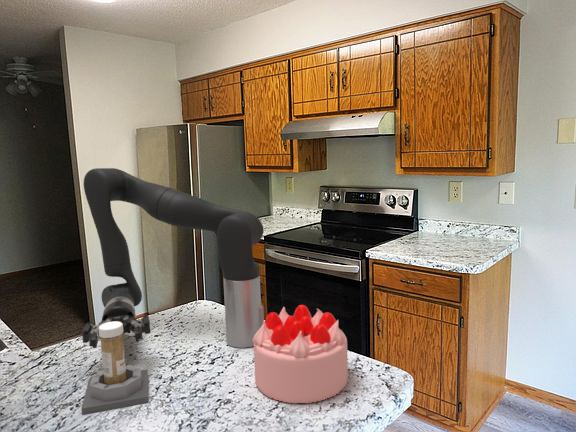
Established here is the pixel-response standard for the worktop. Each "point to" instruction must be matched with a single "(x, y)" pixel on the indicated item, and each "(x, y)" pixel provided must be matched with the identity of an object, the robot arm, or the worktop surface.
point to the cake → (300, 356)
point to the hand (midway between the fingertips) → (115, 340)
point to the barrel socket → (116, 391)
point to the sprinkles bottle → (113, 352)
